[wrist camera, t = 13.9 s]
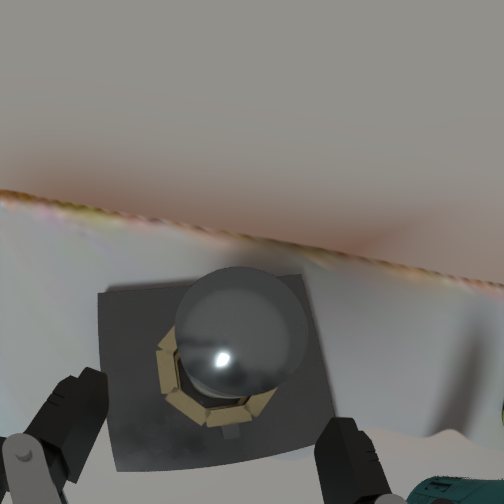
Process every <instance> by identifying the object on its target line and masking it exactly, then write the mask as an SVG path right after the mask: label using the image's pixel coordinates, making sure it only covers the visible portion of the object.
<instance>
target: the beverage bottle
mask: <svg viewBox="0 0 504 504" xmlns="http://www.w3.org/2000/svg"><path fill="white" fill-rule="evenodd" d="M438 498H446V499H449V500H451V501H452V502H453V503H454V504H504V480H503V479H502V480H478V479H477V480H475V479H474V480H473V479H462V478H458V477H444V476H443V477H439V476H437V477H431V478H429V479H426V480H424V481H422V482H421V483H420V484H418V485H417V486H416V487H415V488H414V489H413V491H412V492H411V493H410V495H409V496H408V498H407V500H406V502H407V503H408V504H430V503H432V502H433V501H434V500H436V499H438Z"/></svg>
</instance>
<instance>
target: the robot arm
mask: <svg viewBox="0 0 504 504" xmlns="http://www.w3.org/2000/svg"><path fill="white" fill-rule="evenodd" d="M108 410H109V392H108V377H107V374H106V373H103V372H100V371H97V370H95V369H92V368H89V367H86V368H84V370H83V371H82V373H81V374H80V376H79V377H78V378H76V377H74V376H71V375H70V376H69V377H67V378H65V379H64V380H62V381H60V382H59V383H58V385H57V386H56V387H55V389H54V390H53V392H52V394H50V396H49V397H48V399H47V401H46V402H45V403H44V404H43V406H42V407H41V409H40V410H39V411H38V413H37V414H36V416H35V417H34V419H33V420H32V422H31V423H30V425H29V426H28V428H27V429H26V430H25V431H24V432H23V433H18V434H13V435H11V436H9V437H8V438H5V437H0V504H1V502H2V500H3V498H4V495H5V493H6V491H8V492H10V494H11V498H12V502H13V504H69V503H68V501H67V498H66V496H65V493H64V490H63V487H64V485H65V483H66V480H68V481H71V482H73V483H75V484H76V483H77V481H78V479H79V476H80V474H81V472H82V469H83V467H84V465H85V462H86V460H87V458H88V456H89V453H90V451H91V449H92V447H93V445H94V442H95V440H96V438H97V436H98V433H99V432H100V429H101V427H102V425H103V423H104V421H105V419H106V417H107V414H108ZM314 456H315V461H316V466H317V471H318V475H319V481H320V485H321V490H322V495H323V500H324V504H408V503H407V502H406V501H405V500H404V499H403V498H402V497H400V496H398V495H395V494H392V492H391V490H390V487H389V485H388V482H387V479H386V477H385V474H384V472H383V469H382V466H381V464H380V462H379V461H378V460H379V458H378V456H377V454H376V453H375V449H374V446H373V443H372V441H371V439H370V438H369V437H368V436H367V435H366V434H365V433H364V431H358V428H357V425H356V423H355V420H354V419H353V418H346V417H332V418H331V419H330V420H329V422H328V424H327V425H326V427H325V429H324V430H323V432H322V433H321V435H320V437H319V438H318V440H317V441H316V444H315V448H314ZM430 504H454V503H453V502H452V501H451V500H449V499H446V498H438V499H436V500H434V501H433V502H432V503H430Z"/></svg>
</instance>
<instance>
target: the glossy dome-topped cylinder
mask: <svg viewBox="0 0 504 504" xmlns="http://www.w3.org/2000/svg"><path fill="white" fill-rule="evenodd" d="M174 329H175V340H176V345H177V348H178V351H179V354H180V358H181V362H182V365H183V368H184V370H185V372H186V374H187V375H188V377H189V378H190V381H191V383H192V385H193V387H194V388H195V390H196V391H197V392H199V393H200V394H201V395H203V396H206V397H209V398H230V399H231V398H241V397H246V396H253V395H259V394H263V393H266V392H268V391H271V390H273V389H275V388H277V387H278V386H280V385H282V384H283V383H284V382H285V381H287V380H288V379H289V378H290V377H291V376H292V375H293V374H294V373H295V371H296V370H297V368H298V367H299V365H300V363H301V362H302V360H303V357H304V355H305V352H306V348H307V343H308V325H307V319H306V316H305V313H304V310H303V308H302V306H301V304H300V302H299V300H298V299H297V297H296V296H295V294H294V293H293V292H292V291H291V290H290V289H289V288H288V287H287V286H286V285H285V284H284V283H283V282H282V281H280V280H279V279H277V278H276V277H274V276H273V275H270V274H268V273H266V272H264V271H261V270H258V269H253V268H248V267H230V268H224V269H220V270H217V271H214V272H212V273H210V274H208V275H206V276H204V277H202V278H201V279H200V280H198V281H197V282H196V283H195V284H194V285H193V286H192V287H191V288H190V289H189V290H188V291H187V293H186V294H185V295H184V297H183V299H182V301H181V302H180V305H179V307H178V310H177V314H176V318H175V327H174Z"/></svg>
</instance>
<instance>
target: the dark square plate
mask: <svg viewBox="0 0 504 504" xmlns="http://www.w3.org/2000/svg"><path fill="white" fill-rule="evenodd" d="M276 278H277V279H279V280H280V281H282V282H283V283H284V284H285V285H286V286H287V287H288V288H289V289H290V290H291V291H292V292H293V293H294V294H295V296H296V297H297V299H298V300H299V302H300V304H301V306H302V308H303V310H304V313H305V316H306V319H307V325H308V343H307V348H306V352H305V355H304V357H303V360H302V362H301V363H300V365H299V367H298V368H297V370H296V371H295V373H294V374H293V375H292V376H291V377H290V378H289V379H288V380H287V381H285V382H284V383H283V384H282V385H280V386H278V387H277V388H275V389H273V390H271V391H268V392H266V393H263V394H259V395H253V396H246V397H241V398H231V399H230V398H209V397H206V396H203V395H201V394H200V393H199V392H197V391H196V390H195V388H194V387H193V385H192V383H191V381H190V378H189V377H188V375H187V374H186V372H185V370H184V368H183V365H182V362H181V358H180V354H179V351H178V348H177V345H176V340H175V329H174V327H175V318H176V314H177V310H178V307H179V305H180V302H181V301H182V299H183V297H184V295H185V294H186V293H187V291H188V290H189V289H190V288H191V287H192V286H193V285H192V286H181V287H169V288H158V289H146V290H133V291H120V292H106V293H98V336H99V354H100V367H101V372H103V373H106V374H107V377H108V392H109V410H108V414H107V417H106V418H107V424H108V430H109V436H110V441H111V447H112V452H113V457H114V461H115V465H116V470H117V471H118V472H146V471H147V472H149V471H171V470H183V469H194V468H204V467H211V466H218V465H226V464H232V463H238V462H244V461H249V460H254V459H259V458H264V457H268V456H273V455H277V454H281V453H285V452H289V451H293V450H297V449H300V448H304V447H307V446H311V445H314V444H316V441H317V440H318V438H319V437H320V435H321V433H322V432H323V430H324V429H325V427H326V425H327V424H328V422H329V420H330V419H331V418H332V417H335V416H334V411H333V406H332V402H331V397H330V392H329V388H328V383H327V379H326V374H325V370H324V365H323V361H322V357H321V352H320V348H319V344H318V340H317V335H316V331H315V327H314V323H313V319H312V315H311V311H310V307H309V303H308V299H307V295H306V291H305V287H304V283H303V280H302V276H301V274H297V275H289V276H280V277H276Z"/></svg>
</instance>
